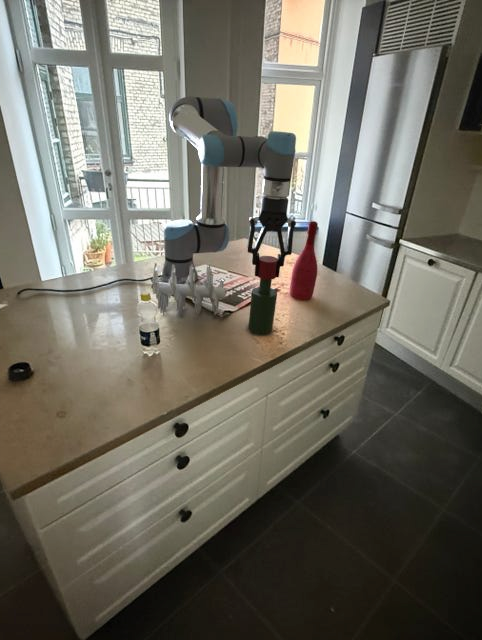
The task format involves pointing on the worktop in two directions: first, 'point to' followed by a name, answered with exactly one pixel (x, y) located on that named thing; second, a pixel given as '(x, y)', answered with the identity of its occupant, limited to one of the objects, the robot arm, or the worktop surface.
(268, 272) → the cap
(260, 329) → the oil bottle
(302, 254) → the wine bottle
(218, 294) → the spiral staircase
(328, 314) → the worktop surface
